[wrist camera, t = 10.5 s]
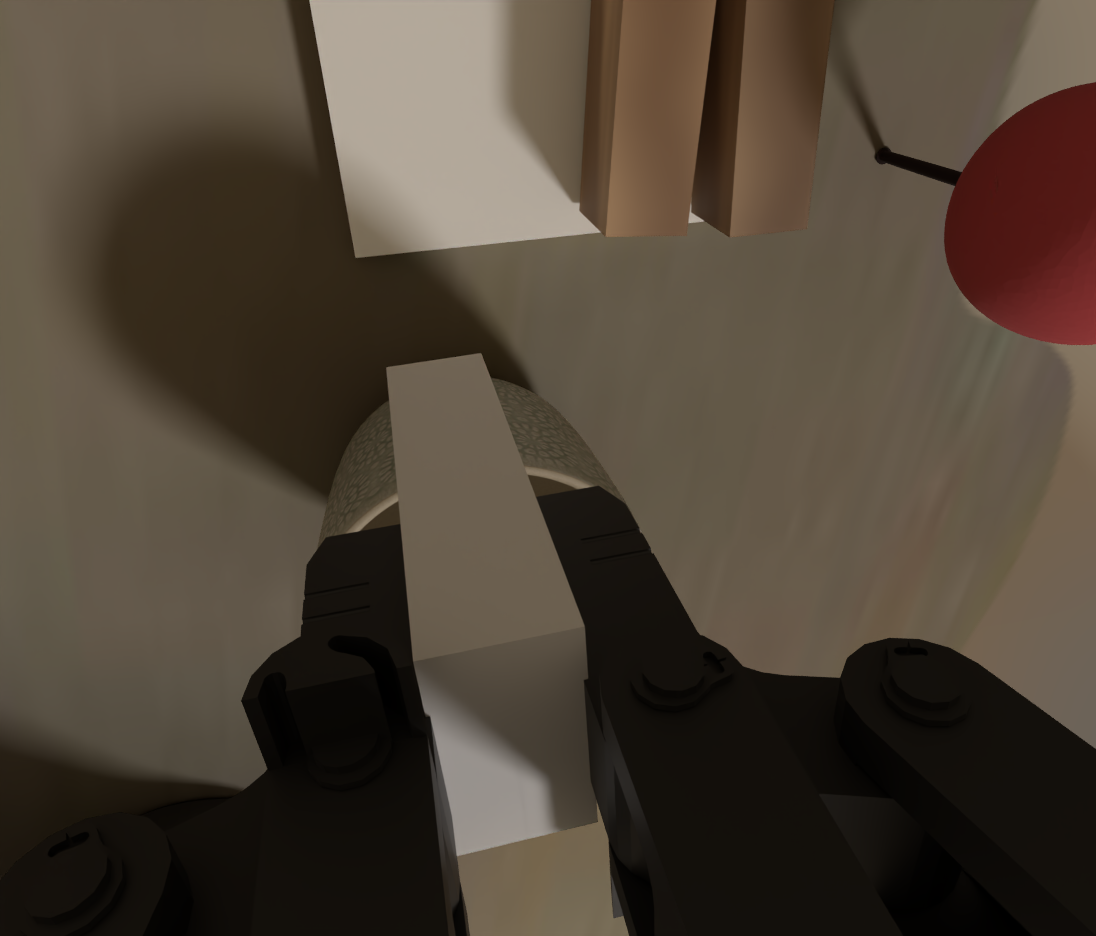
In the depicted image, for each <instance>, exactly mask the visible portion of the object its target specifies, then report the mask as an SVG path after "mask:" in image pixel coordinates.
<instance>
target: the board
mask: <svg viewBox="0 0 1096 936" xmlns="http://www.w3.org/2000/svg"><path fill="white" fill-rule="evenodd" d="M309 1H310V7H311V12H312V18H313V24H314V29H315V35H316V40H317V46H318V52H319V57H320V63H321V68H322V74H323V79H324V85H325V91H326V96H327V102H328V107H329V113H330V118H331V124H332V130H333V135H334V141H335V146H336V152H337V158H338V163H339V169H340V174H341V180H342V185H343V191H344V197H345V202H346V208H347V213H348V219H349V224H350V230H351V236H352V241H353V247H354V252H355V258H360V257H370V256H379V255H389V254H398V253H408V252H418V251H427V250H437V249H446V248H456V247H465V246H475V245H484V244H494V243H503V242H513V241H522V240H532V239H541V238H551V237H560V236H570V235H579V234H589V233H598V232H600V231H599V230H598V229H597V228H596V227H595V226H594V225H593V224H592V223H591V222H590V221H589V220H588V219H587V218H586V217H585V216H584V215H583V214H582V213H581V212H580V211H579V207H580V189H581V171H582V153H583V135H584V118H585V100H586V82H587V64H588V47H589V29H590V11H591V0H309ZM691 202H692V197H691ZM703 221H704V220H702V219H701V218H699V217H697V216H696V215H694V214H693V213H691V205H690V213H689V221H688V223H694V222H703Z"/></svg>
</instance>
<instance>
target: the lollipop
mask: <svg viewBox="0 0 1096 936" xmlns="http://www.w3.org/2000/svg"><path fill="white" fill-rule="evenodd" d="M876 159H877V162H878V163H879V164H885V163H888V164H891V165H894V166H896V167H899V168H902V169H905V170H908V171H911V172H914V173H917V174H920V175H923V176H926V177H929V178H932V179H935V180H938V181H941V182H944V183H947V184H950V185H954V186H955V188H954V191H953V193H952V196H951V199H950V203H949V206H948V210H947V215H946V221H945V232H944V244H945V253H946V258H947V263H948V266H949V269H950V272H951V274H952V276H953V278H954V280H955V282H956V284H957V286H958V287H959V289H960V290H961V292H962V293H963V295H964V296H965V297H966V298H967V299H968V300H969V302H970V303H971V304H972V305H973V306H974V307H975V308H976V309H978V310H979V311H980V312H981V313H983V314H984V315H985V316H986V317H988V318H989V319H991V320H992V321H994V322H995V323H997V324H999V325H1001V326H1002V327H1004V328H1006V329H1008V330H1011V331H1013V332H1015V333H1018V334H1021V335H1023V336H1026V337H1029V338H1033V339H1037V340H1040V341H1045V342H1051V343H1057V344H1067V345H1093V344H1096V82H1095V83H1090V84H1084V85H1079V86H1075V87H1071V88H1067V89H1064V90H1061V91H1058V92H1056V93H1053V94H1050V95H1048V96H1046V97H1044V98H1042V99H1039V100H1037V101H1035V102H1034V103H1032V104H1030V105H1028V106H1026V107H1025V108H1023V109H1022V110H1020V111H1019V112H1017V113H1016V114H1014V115H1013V116H1012V117H1010V118H1009V119H1008V120H1006V121H1005V122H1004V123H1003V124H1002V125H1001V126H999V127H998V128H997V129H996V130H995V131H994V132H993V133H992V134H991V135H990V136H989V137H988V138H987V139H986V140H985V141H984V143H983V144H982V145H981V146H980V147H979V149H978V150H977V151H976V152H975V153H974V155H973V156H972V158H971V159H970V161H969V162H968V164H967V165H966V167H965V168H964V170H963V172H959V171H956V170H952V169H949V168H945V167H942V166H938V165H935V164H932V163H928V162H925V161H921V160H918V159H914V158H911V157H907V156H904V155H900V154H897V153H893V152H891V150H890V149H889V148H882V149H881V150H880V151H879V152H878V154H877V158H876Z"/></svg>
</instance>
